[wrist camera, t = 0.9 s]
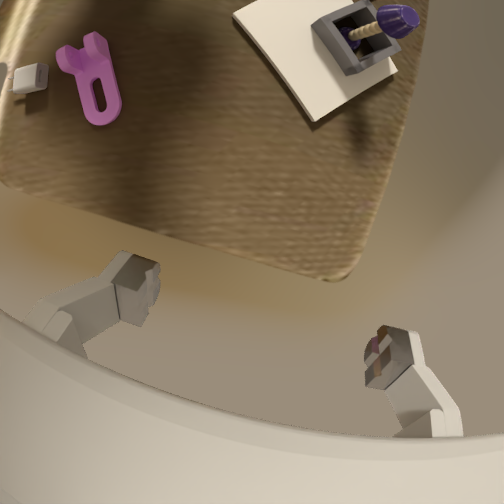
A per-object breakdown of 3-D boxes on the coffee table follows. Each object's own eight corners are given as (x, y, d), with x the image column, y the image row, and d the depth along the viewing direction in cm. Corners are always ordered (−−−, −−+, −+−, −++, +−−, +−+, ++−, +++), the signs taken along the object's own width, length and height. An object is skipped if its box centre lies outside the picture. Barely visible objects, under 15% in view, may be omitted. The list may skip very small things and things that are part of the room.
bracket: (74, 55, 31) (54, 47, 25) (107, 40, 31) (91, 28, 25) (92, 130, 37) (73, 133, 30) (126, 116, 37) (112, 115, 31)
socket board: (232, 16, 33) (236, 3, 28) (324, -26, 31) (338, -39, 26) (311, 121, 41) (325, 121, 36) (392, 71, 39) (412, 68, 34)
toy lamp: (365, 48, 37) (432, 27, 22) (344, 58, 37) (408, 38, 22) (349, 23, 35) (410, -7, 20) (327, 33, 35) (385, 1, 20)
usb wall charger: (46, 89, 32) (34, 87, 29) (14, 97, 31) (0, 96, 27) (49, 65, 31) (37, 61, 27) (16, 74, 30) (2, 72, 26)
